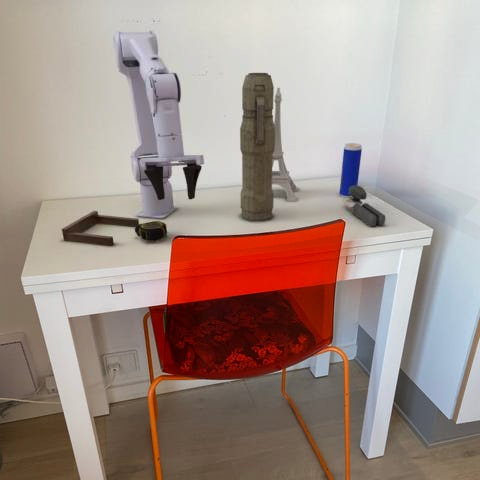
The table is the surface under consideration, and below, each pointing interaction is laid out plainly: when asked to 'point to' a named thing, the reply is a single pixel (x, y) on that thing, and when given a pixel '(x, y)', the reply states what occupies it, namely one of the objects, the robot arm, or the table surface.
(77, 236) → the walnut frame
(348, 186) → the beverage can
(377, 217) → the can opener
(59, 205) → the table surface
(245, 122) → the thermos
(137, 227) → the tape measure
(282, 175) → the eiffel tower
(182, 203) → the table surface
